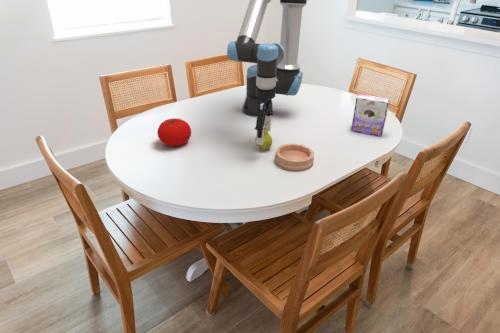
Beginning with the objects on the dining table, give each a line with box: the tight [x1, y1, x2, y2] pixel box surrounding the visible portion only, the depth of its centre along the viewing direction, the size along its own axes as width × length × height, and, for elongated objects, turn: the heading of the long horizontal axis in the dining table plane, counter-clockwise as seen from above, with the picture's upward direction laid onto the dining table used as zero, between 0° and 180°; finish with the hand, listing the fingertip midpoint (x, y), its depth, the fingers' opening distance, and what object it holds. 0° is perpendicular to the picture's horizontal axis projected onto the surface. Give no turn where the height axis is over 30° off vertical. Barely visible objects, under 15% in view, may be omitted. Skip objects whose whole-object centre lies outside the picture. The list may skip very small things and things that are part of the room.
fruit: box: [255, 122, 273, 150], centre depth 153 cm, size 7×7×12 cm
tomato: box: [156, 117, 192, 147], centre depth 156 cm, size 14×13×10 cm
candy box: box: [350, 93, 391, 137], centre depth 168 cm, size 14×6×16 cm, turn 65°
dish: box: [274, 143, 315, 172], centre depth 146 cm, size 15×15×4 cm
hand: (263, 137), depth 153 cm, fingers open, 13 cm apart
